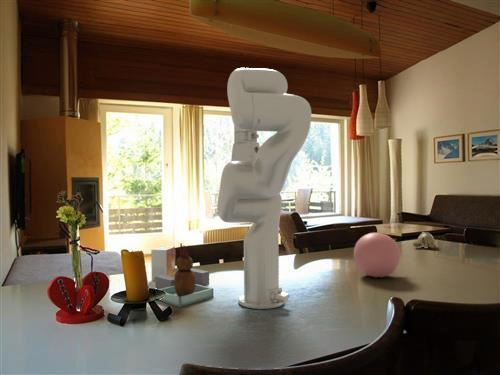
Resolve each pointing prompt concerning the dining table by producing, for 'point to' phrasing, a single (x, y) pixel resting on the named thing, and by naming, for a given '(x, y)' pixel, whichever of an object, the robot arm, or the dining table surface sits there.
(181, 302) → the tray
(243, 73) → the robot arm
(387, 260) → the pink rubber ball
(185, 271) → the wooden figurine
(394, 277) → the dining table surface
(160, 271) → the small box
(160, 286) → the grey blocks
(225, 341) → the dining table surface
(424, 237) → the ceramic sculpture
